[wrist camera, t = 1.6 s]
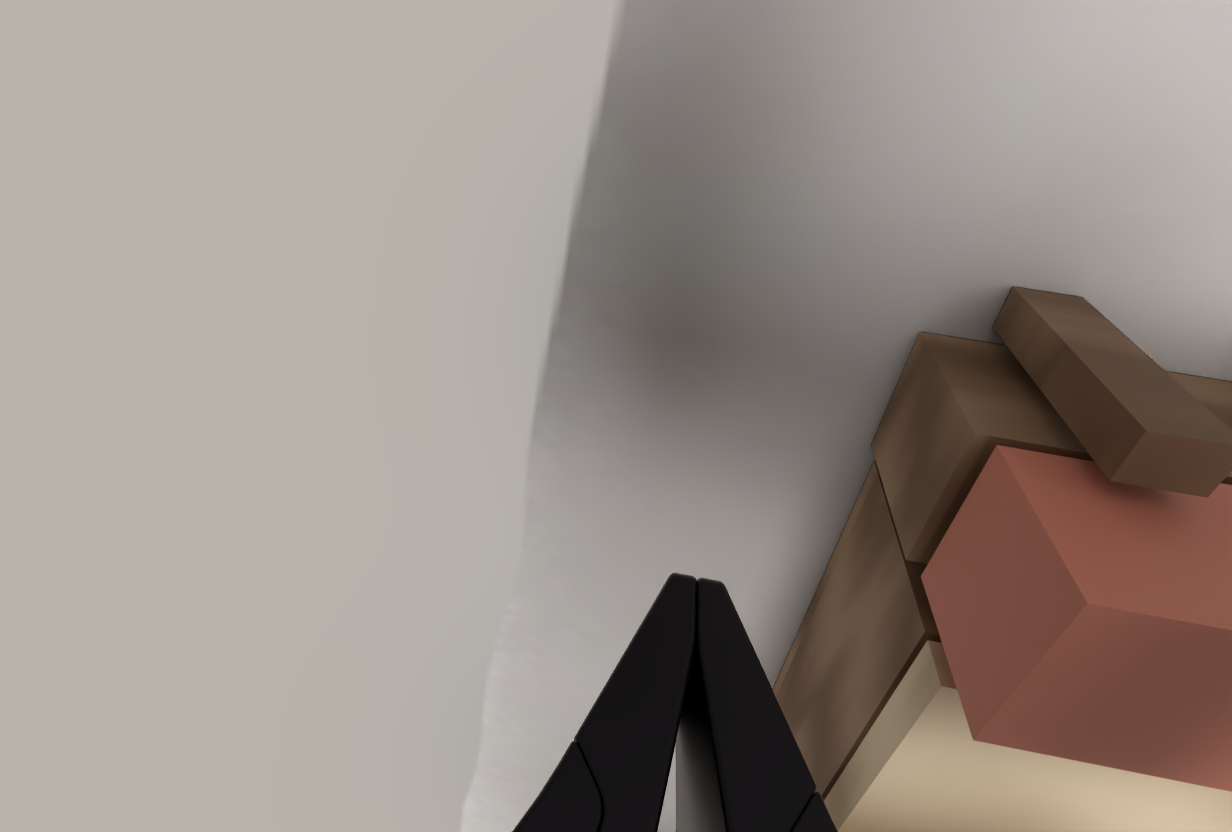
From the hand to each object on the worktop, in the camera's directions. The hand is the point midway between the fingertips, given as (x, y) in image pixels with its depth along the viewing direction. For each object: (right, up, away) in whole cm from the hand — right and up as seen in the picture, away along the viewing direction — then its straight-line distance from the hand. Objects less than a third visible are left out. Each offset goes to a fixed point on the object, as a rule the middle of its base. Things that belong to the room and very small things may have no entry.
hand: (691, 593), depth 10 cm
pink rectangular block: (+10, 0, +2) cm, 10 cm away
